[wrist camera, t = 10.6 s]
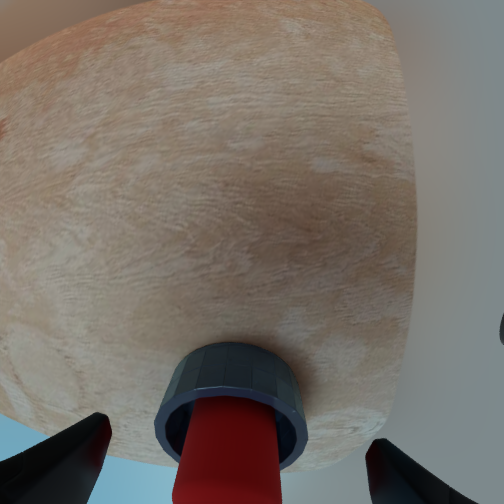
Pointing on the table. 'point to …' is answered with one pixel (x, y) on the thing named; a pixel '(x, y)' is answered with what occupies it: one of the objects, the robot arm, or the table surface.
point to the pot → (233, 394)
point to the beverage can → (229, 454)
